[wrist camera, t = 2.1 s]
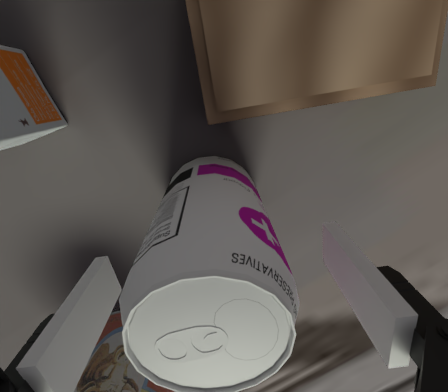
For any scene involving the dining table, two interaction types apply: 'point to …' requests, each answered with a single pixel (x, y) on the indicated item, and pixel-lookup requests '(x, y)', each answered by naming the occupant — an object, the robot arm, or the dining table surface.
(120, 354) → the canned food
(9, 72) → the skincare box
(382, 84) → the tray
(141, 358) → the supplement can
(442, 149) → the dining table surface
